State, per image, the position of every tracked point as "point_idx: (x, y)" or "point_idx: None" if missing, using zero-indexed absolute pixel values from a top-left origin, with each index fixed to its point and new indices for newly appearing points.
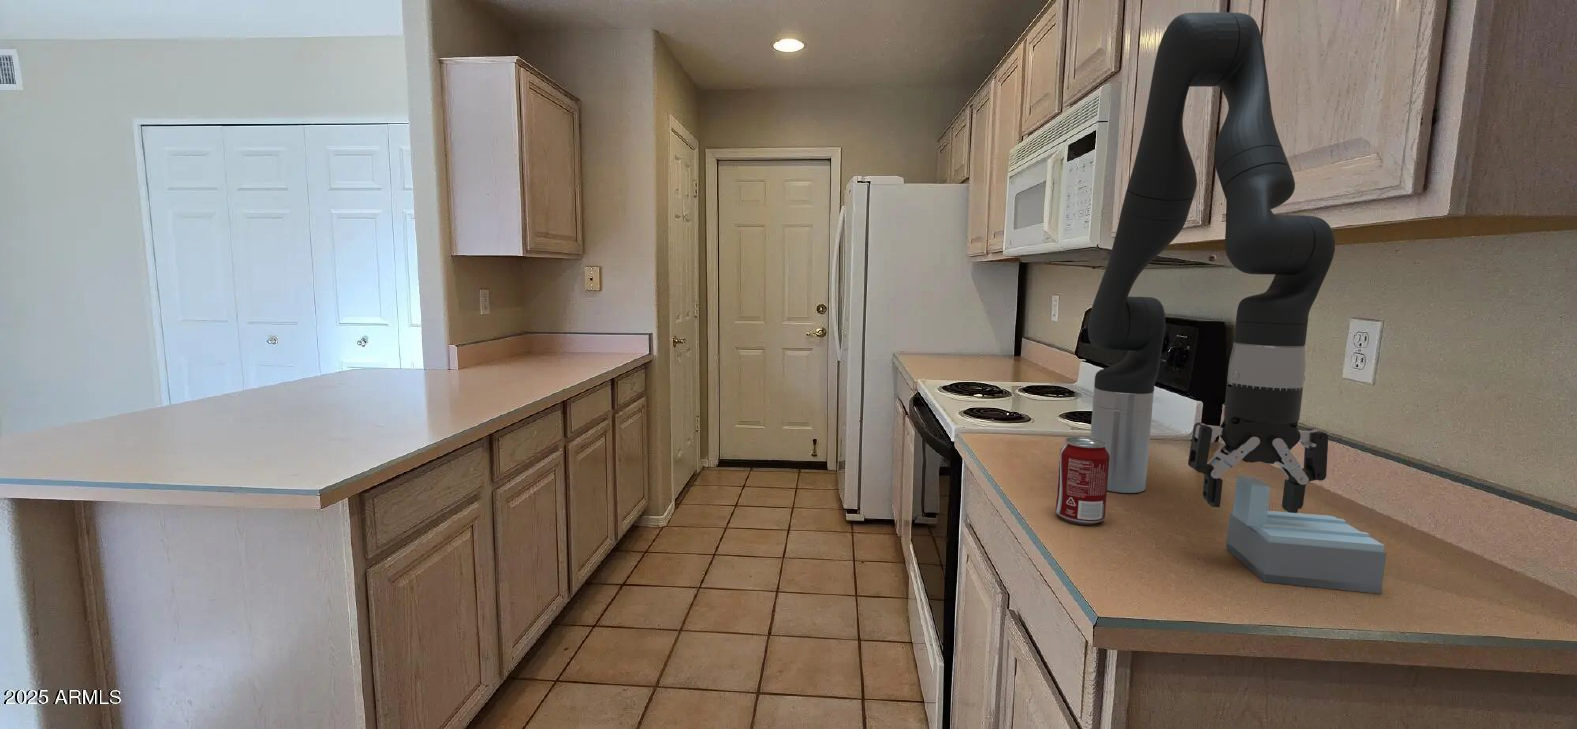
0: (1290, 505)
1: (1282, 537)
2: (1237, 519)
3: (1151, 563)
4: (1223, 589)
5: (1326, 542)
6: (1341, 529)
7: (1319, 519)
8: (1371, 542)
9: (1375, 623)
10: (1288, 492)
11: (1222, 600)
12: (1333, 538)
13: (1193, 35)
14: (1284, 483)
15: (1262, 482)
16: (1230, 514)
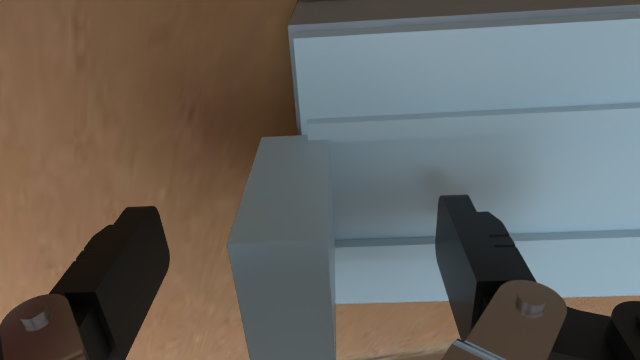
0: (441, 265)
1: (352, 300)
2: (294, 97)
3: (66, 184)
4: (213, 274)
5: None
6: (617, 193)
7: (602, 128)
8: (619, 282)
9: (449, 330)
10: (457, 277)
11: (199, 316)
12: None
13: None
14: (469, 266)
15: (326, 327)
16: (288, 31)
